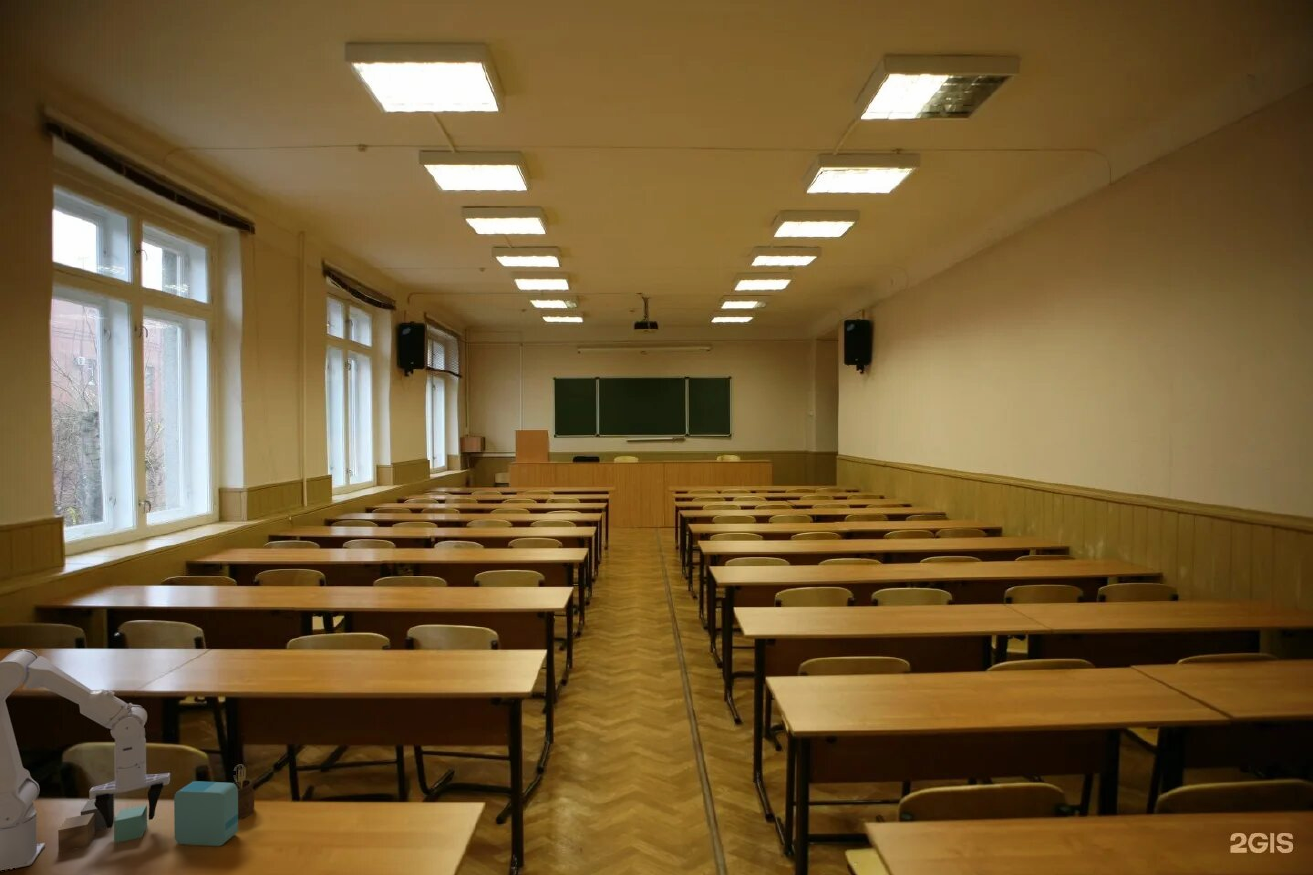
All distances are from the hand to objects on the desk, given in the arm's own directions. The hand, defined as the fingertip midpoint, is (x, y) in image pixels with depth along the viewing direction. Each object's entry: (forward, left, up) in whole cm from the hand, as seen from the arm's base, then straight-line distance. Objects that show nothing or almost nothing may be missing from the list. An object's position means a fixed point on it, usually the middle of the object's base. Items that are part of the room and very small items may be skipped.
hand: (131, 821), depth 155 cm
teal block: (0, 0, -3) cm, 3 cm away
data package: (+16, -10, -3) cm, 19 cm away
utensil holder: (+21, -1, -3) cm, 22 cm away
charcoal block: (-8, +8, -3) cm, 12 cm away
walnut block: (-10, +1, -3) cm, 11 cm away
